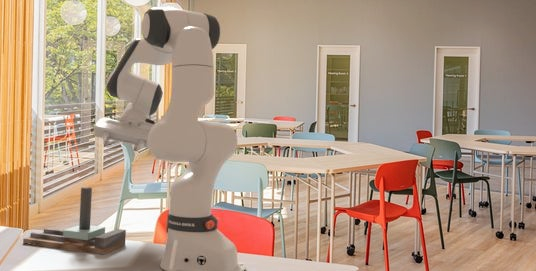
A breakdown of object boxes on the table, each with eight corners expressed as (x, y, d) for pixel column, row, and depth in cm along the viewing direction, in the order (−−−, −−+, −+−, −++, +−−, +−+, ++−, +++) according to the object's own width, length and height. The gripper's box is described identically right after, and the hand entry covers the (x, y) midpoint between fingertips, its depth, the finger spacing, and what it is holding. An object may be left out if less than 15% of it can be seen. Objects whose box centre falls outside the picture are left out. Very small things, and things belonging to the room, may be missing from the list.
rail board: (125, 244, 162) (125, 229, 162) (103, 254, 150) (104, 238, 150) (49, 235, 168) (50, 220, 168) (23, 243, 157) (23, 228, 156)
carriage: (104, 233, 162) (106, 187, 161) (87, 240, 153) (90, 191, 153) (81, 230, 164) (83, 184, 163) (63, 237, 155) (65, 188, 154)
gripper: (101, 109, 178) (88, 129, 166) (162, 123, 180) (154, 144, 168) (99, 126, 181) (86, 147, 169) (159, 139, 183) (151, 161, 171)
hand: (120, 146), depth 168 cm, fingers open, 8 cm apart
